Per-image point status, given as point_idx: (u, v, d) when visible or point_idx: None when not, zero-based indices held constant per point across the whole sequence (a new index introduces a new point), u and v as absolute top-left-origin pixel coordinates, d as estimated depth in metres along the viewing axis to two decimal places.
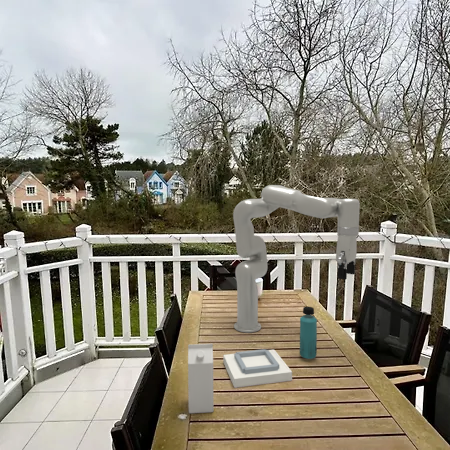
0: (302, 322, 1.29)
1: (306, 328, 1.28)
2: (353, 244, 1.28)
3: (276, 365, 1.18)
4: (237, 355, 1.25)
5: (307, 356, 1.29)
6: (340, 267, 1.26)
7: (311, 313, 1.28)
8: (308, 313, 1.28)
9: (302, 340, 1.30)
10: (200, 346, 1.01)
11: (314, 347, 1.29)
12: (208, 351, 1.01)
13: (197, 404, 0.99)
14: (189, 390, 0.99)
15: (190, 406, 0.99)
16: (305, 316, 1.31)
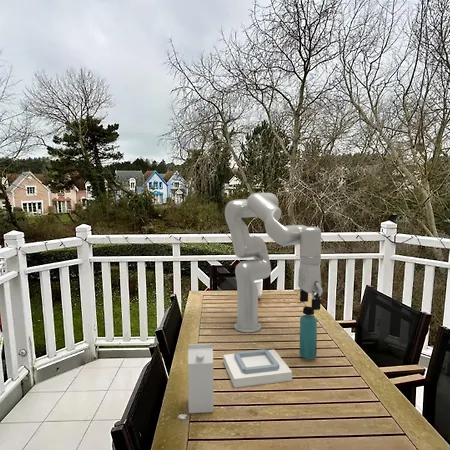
0: (302, 322, 1.29)
1: (306, 328, 1.28)
2: None
3: (276, 365, 1.18)
4: (237, 355, 1.25)
5: (307, 356, 1.29)
6: (317, 298, 1.23)
7: (311, 313, 1.28)
8: (308, 313, 1.28)
9: (302, 340, 1.30)
10: (200, 346, 1.01)
11: (314, 347, 1.29)
12: (208, 351, 1.01)
13: (197, 404, 0.99)
14: (189, 390, 0.99)
15: (190, 406, 0.99)
16: (305, 316, 1.31)
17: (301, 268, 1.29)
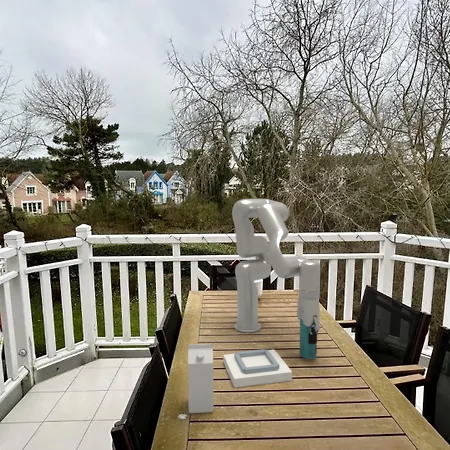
0: (302, 322, 1.29)
1: (306, 328, 1.28)
2: None
3: (276, 365, 1.18)
4: (237, 355, 1.25)
5: (307, 356, 1.29)
6: (314, 333, 1.26)
7: None
8: None
9: (302, 340, 1.30)
10: (200, 346, 1.01)
11: (314, 347, 1.29)
12: (208, 351, 1.01)
13: (197, 404, 0.99)
14: (189, 390, 0.99)
15: (190, 406, 0.99)
16: None
17: (300, 301, 1.31)
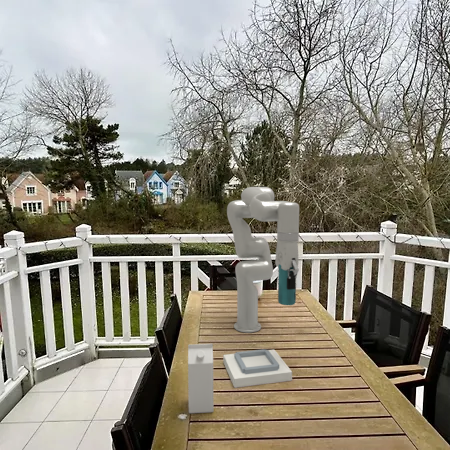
0: (280, 267, 1.23)
1: (284, 273, 1.22)
2: None
3: (276, 365, 1.18)
4: (237, 355, 1.25)
5: (286, 303, 1.23)
6: (292, 277, 1.20)
7: None
8: None
9: (280, 286, 1.23)
10: (200, 346, 1.01)
11: (293, 293, 1.23)
12: (208, 351, 1.01)
13: (197, 404, 0.99)
14: (189, 390, 0.99)
15: (190, 406, 0.99)
16: None
17: (278, 245, 1.24)
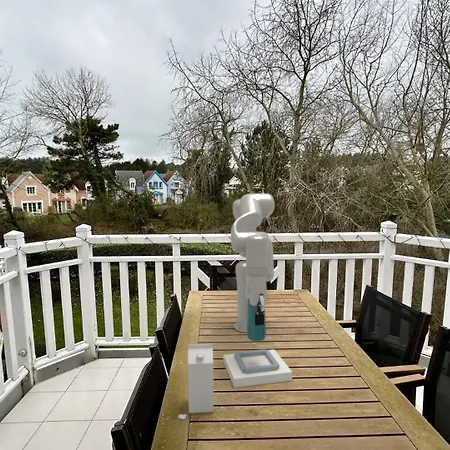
0: (249, 301, 1.19)
1: (252, 308, 1.18)
2: None
3: (276, 365, 1.18)
4: (237, 355, 1.25)
5: (254, 338, 1.19)
6: (260, 313, 1.16)
7: None
8: None
9: (249, 321, 1.20)
10: (200, 346, 1.01)
11: (262, 329, 1.19)
12: (208, 351, 1.01)
13: (197, 404, 0.99)
14: (189, 390, 0.99)
15: (190, 406, 0.99)
16: None
17: (247, 279, 1.21)
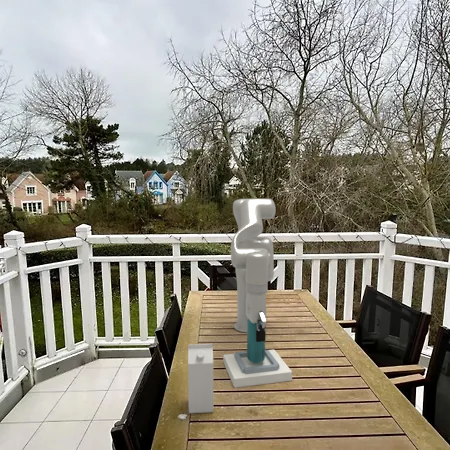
0: (248, 323, 1.20)
1: (252, 330, 1.19)
2: None
3: (276, 365, 1.18)
4: (237, 355, 1.25)
5: (254, 360, 1.20)
6: (261, 330, 1.15)
7: None
8: None
9: (249, 342, 1.21)
10: (200, 346, 1.01)
11: (261, 350, 1.20)
12: (208, 351, 1.01)
13: (197, 404, 0.99)
14: (189, 390, 0.99)
15: (190, 406, 0.99)
16: None
17: (247, 296, 1.21)
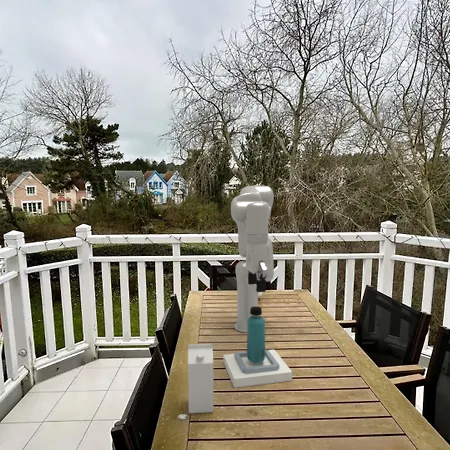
0: (248, 323, 1.20)
1: (252, 330, 1.19)
2: None
3: (276, 365, 1.18)
4: (237, 355, 1.25)
5: (254, 360, 1.20)
6: (262, 279, 1.13)
7: (258, 313, 1.19)
8: (255, 313, 1.19)
9: (249, 342, 1.21)
10: (200, 346, 1.01)
11: (261, 350, 1.20)
12: (208, 351, 1.01)
13: (197, 404, 0.99)
14: (189, 390, 0.99)
15: (190, 406, 0.99)
16: (252, 317, 1.22)
17: (248, 247, 1.20)
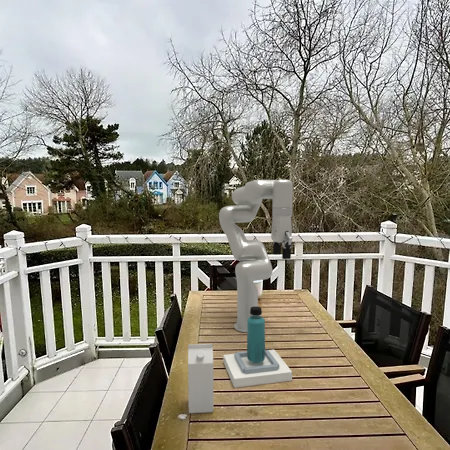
0: (248, 323, 1.20)
1: (252, 330, 1.19)
2: None
3: (276, 365, 1.18)
4: (237, 355, 1.25)
5: (254, 360, 1.20)
6: (287, 247, 1.28)
7: (258, 313, 1.19)
8: (255, 313, 1.19)
9: (249, 342, 1.21)
10: (200, 346, 1.01)
11: (261, 350, 1.20)
12: (208, 351, 1.01)
13: (197, 404, 0.99)
14: (189, 390, 0.99)
15: (190, 406, 0.99)
16: (252, 317, 1.22)
17: (273, 220, 1.34)
